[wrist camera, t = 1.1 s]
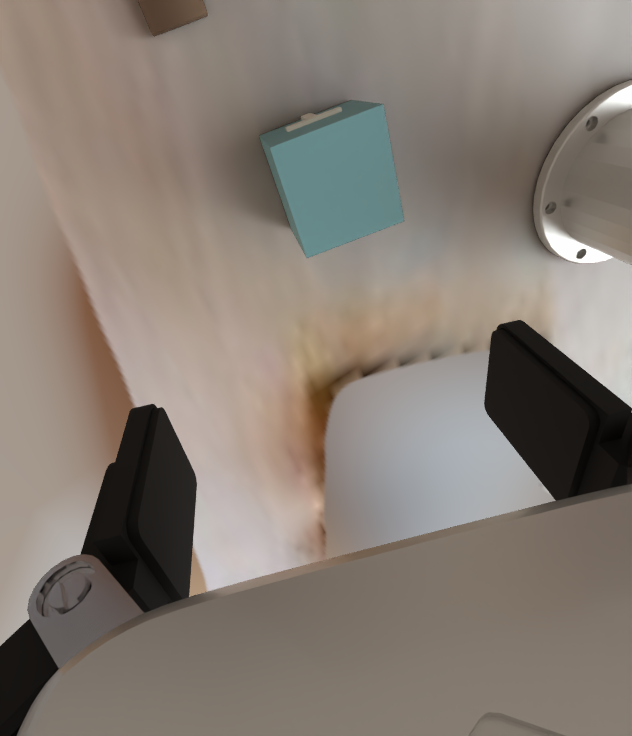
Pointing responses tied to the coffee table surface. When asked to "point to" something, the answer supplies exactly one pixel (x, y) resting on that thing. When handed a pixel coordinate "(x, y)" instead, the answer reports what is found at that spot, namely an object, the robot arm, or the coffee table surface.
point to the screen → (171, 13)
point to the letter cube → (335, 175)
